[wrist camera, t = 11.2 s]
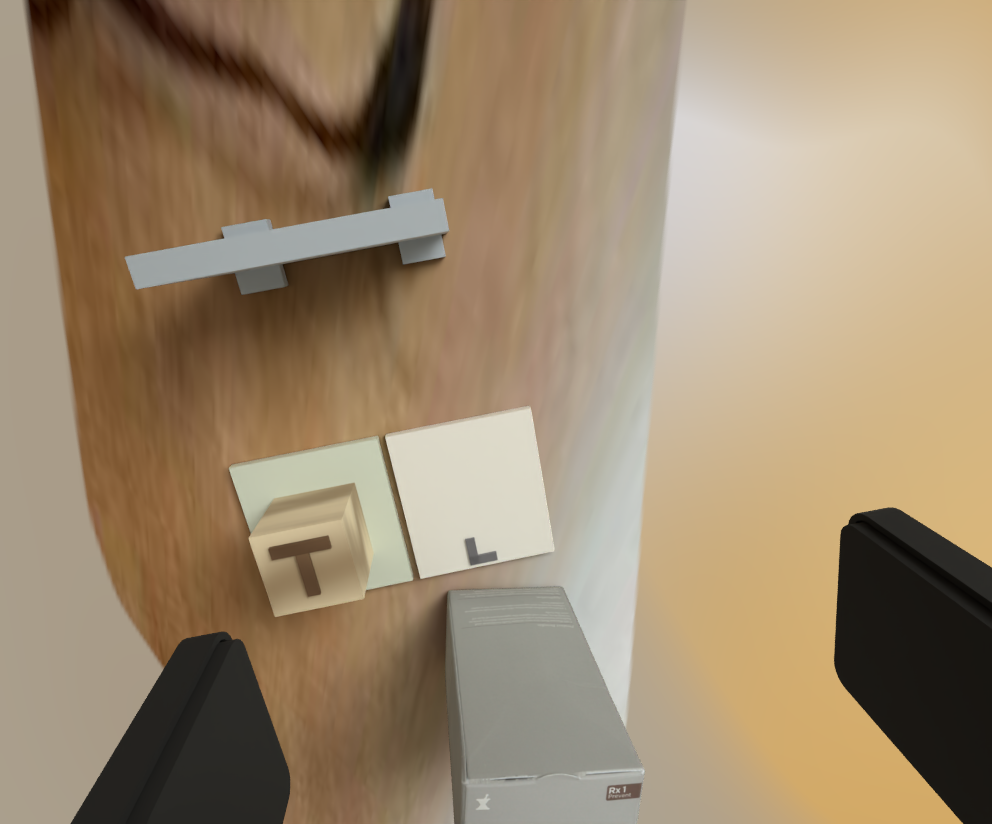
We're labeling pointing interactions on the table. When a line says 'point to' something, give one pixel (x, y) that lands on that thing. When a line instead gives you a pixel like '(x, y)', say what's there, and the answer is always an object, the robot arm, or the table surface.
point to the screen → (298, 245)
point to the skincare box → (532, 715)
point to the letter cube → (313, 549)
